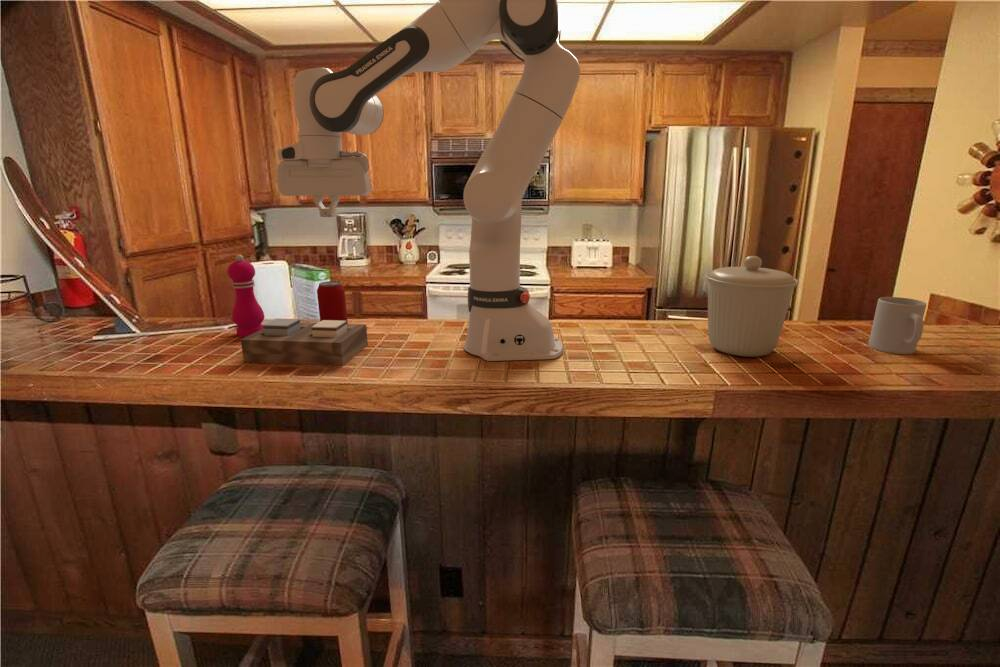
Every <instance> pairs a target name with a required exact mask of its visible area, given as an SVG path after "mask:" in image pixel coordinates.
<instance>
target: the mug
mask: <svg viewBox="0 0 1000 667" xmlns="http://www.w3.org/2000/svg"><path fill="white" fill-rule="evenodd" d="M926 309H927V303H926V302H925V301H922V300H918V299H914V298H908V297H899V296H898V297H897V296H883V297H879V298H878V299H877V303H876V308H875V313H874V317H873V323H872V326H871V331H870V335H869V339H868V346H869V347H870V349H874V350H876V351H879V352H883V353H888V354H896V355H912V354H914V353H916V350H917V347H918V346H917V345H918V343H919V342H920V340H921V338H922V336H923V331H924V327H925V326H924V316H925V312H926Z"/></svg>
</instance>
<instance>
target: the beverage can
mask: <svg viewBox="0 0 1000 667" xmlns="http://www.w3.org/2000/svg"><path fill="white" fill-rule="evenodd" d="M318 283H319V284H318V287H317V288H316V289H317V290H316V294H317V304H318V305H317V306H318V313H319V322H321V321H322V320H339V321H346V322H347V324H349V323H348V312H347V302H346V293H345V287H344V286H343V284H342V282H341V281H337V280H335V281H334V280H331V281H330V280H328V281H322V282H321V281H320V282H318Z"/></svg>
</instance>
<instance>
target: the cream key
mask: <svg viewBox="0 0 1000 667" xmlns="http://www.w3.org/2000/svg"><path fill="white" fill-rule="evenodd" d="M347 322H348V321H347ZM347 322H346V321H339V320H322V321H321V322H320V321H319V322H316V323H317V324H315V325H314V326H312V328H311V329H312V334H313V337H337V338H339V337H340V336H342V335H343V334H345V333H346V332H347Z"/></svg>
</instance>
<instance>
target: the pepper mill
mask: <svg viewBox="0 0 1000 667" xmlns="http://www.w3.org/2000/svg"><path fill="white" fill-rule="evenodd" d="M234 259H235V261H233V262H231V263H230V264H229V265H228V267H227V275H228V277H229V278H230V279H231V280H232V281H231V284H232V286H231V287H232V288H233V289H234V291H235V303H234V307H233V309H232V316H231V317H232V322H233V323H234V324H235V325H237V327H236V335H237V336H238V337H240V338H245V337H247V336H249V335H251V334H253V333H255V332H257V331H259V330H261V329H263V325H264V324H262V323H263V322H264V319H265V313H264V310H263V308H262V306H261V305H260V304H259V302H258V300H257V299H256V296H255V292H254V287H255V286H256V284H255V280H254V279H253V278H254V277H255V275H256V269H255V267H254V265H253V264H252V263H251V262H249V261H246V260H244V256H243V255H242V254H237V255H235V258H234Z"/></svg>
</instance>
